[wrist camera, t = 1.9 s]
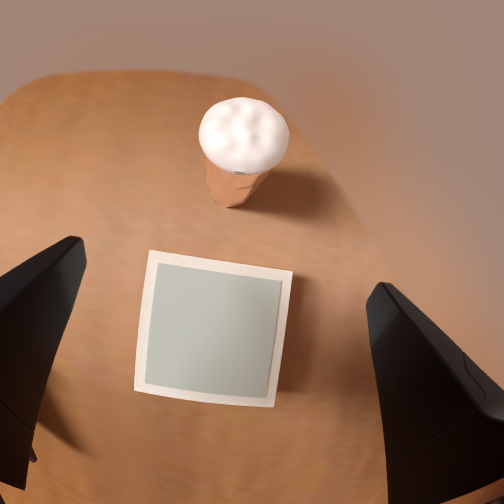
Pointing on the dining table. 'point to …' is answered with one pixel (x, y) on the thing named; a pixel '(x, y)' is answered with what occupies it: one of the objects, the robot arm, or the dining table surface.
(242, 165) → the milkshake
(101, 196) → the dining table surface
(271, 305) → the tile base
